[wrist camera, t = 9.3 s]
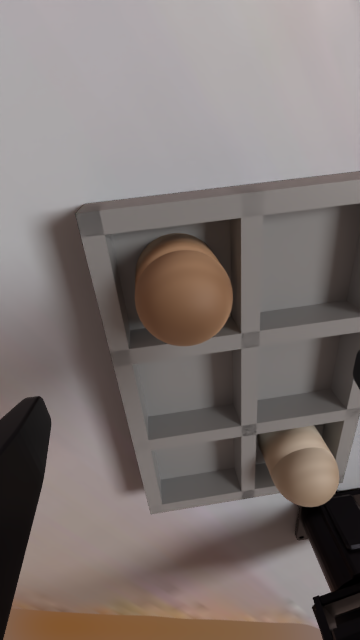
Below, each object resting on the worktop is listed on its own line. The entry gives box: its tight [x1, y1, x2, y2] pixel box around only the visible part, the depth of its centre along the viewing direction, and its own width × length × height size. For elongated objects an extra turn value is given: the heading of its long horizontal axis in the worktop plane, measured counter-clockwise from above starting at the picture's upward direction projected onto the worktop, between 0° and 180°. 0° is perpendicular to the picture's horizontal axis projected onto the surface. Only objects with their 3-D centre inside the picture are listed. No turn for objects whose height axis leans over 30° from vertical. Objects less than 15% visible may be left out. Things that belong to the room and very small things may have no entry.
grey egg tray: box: [75, 171, 360, 514], centre depth 20 cm, size 22×15×3 cm
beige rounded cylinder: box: [257, 425, 339, 507], centre depth 22 cm, size 4×4×5 cm
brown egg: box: [135, 233, 233, 346], centre depth 15 cm, size 4×4×5 cm
